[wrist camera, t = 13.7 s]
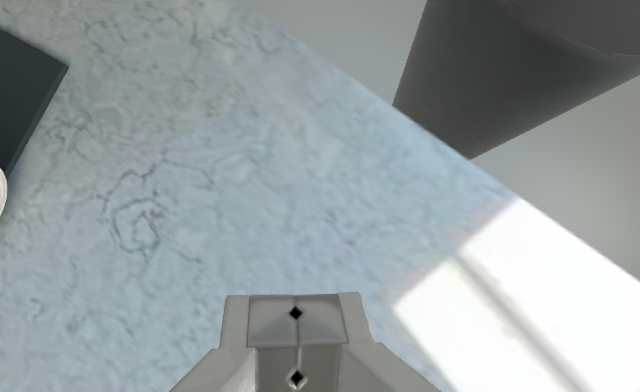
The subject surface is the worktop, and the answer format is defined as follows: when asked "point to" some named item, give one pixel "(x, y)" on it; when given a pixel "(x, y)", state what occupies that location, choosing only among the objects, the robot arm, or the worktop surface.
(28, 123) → the slate mat
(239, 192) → the worktop surface
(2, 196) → the coffee cup
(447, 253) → the worktop surface
